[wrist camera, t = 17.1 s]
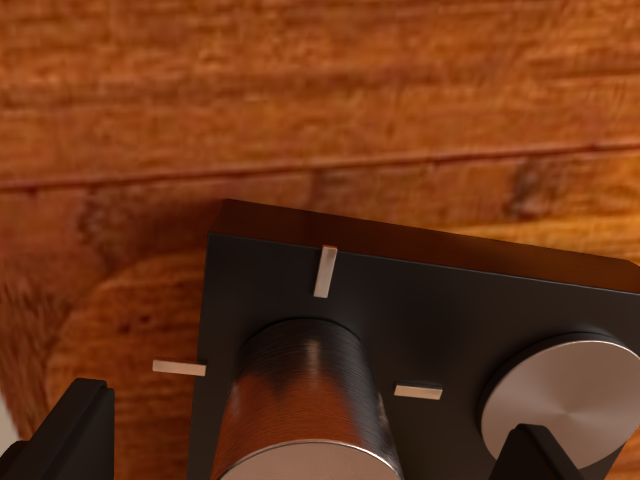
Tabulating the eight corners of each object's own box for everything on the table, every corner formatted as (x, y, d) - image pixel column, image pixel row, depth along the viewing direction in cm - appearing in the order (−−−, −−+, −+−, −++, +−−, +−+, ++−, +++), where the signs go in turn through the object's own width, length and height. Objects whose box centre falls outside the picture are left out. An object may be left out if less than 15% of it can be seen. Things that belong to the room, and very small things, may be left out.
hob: (163, 568, 19) (139, 658, 16) (189, 189, 13) (158, 223, 10) (471, 582, 21) (500, 664, 18) (629, 257, 14) (715, 303, 11)
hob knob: (224, 425, 12) (192, 596, 8) (239, 309, 11) (209, 446, 7) (356, 437, 13) (386, 603, 9) (387, 326, 11) (440, 464, 7)
